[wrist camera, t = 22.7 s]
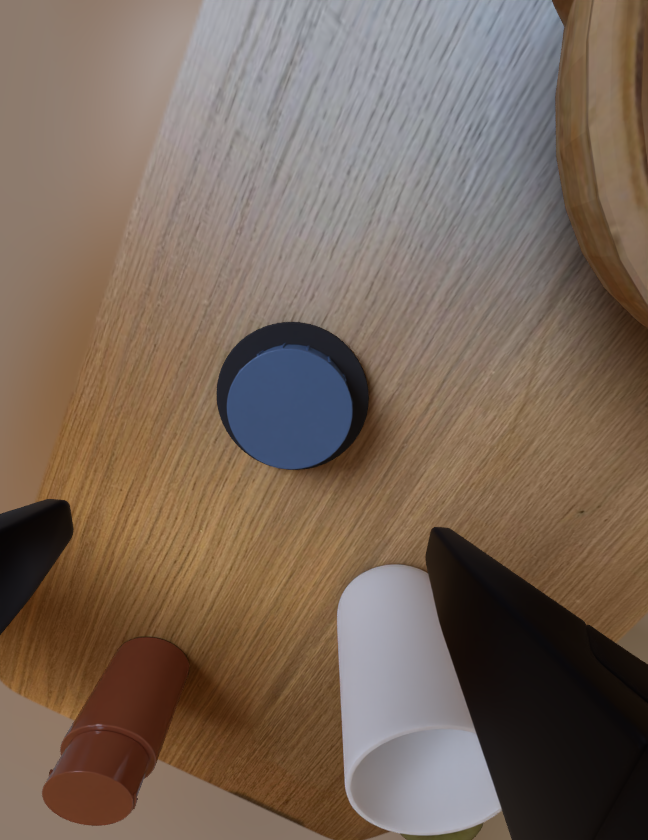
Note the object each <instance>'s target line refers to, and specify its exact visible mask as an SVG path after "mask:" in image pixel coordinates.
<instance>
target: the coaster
mask: <svg viewBox="0 0 648 840" xmlns="http://www.w3.org/2000/svg"><path fill="white" fill-rule="evenodd" d="M284 343H286V345H289V344H291V345H302V346H309V347H310V348H313V349H315V350H317V351H319V352H321V353H323V354H324V355H326V356H327V357H330V359H331V360H332V361H333V362H334V363H335V364H336V365H337V367H338V368H339V369H340V371H341V372H342V374H344V375H345V378H346V380H347V381H346V383H347V386H348V389H349V392H350V395H351V398H352V401H353V404H352V409H353V411H352V421H351V426H350V429H349V432H348V434H347V436H346V438H345V440H344V441H343V443H342V444H341V446H340V447H339V448H338V449H337V450H336V452H334V453H333V454H332V455H331V456H330V457H328V458H327V459H325V460H324V461H322V462H320V463H318V464H316V465H313V466H310V467H306V468H302V469H308V468H313V467H317V466H320V465H322V464H325V463H327V462H329V461H331V460H333V459H335V458H336V457H338V456H339V455H340V454H342V453H343V452H344V451H345V450H346V449H347V448H348V447H349V446H350V445H351V444H352V443H353V442H354V440H355V439H356V437H357V436H358V434H359V433H360V431H361V429H362V427H363V424H364V422H365V419H366V415H367V410H368V401H369V395H368V386H367V381H366V377H365V374H364V371H363V369H362V367H361V365H360V363H359V361H358V359H357V358H356V356H355V355H354V353H353V352H352V351H351V350H350V348H349V347H348V346H347V345H346V344H345V343H344V342H343V341H341V340H340V339H339V338H338V337H337V336H335V335H333V334H332V333H330V332H329V331H327V330H324V329H322V328H320V327H317V326H314V325H311V324H306V323H300V322H283V323H276V324H272V325H268V326H265V327H263V328H261V329H258V330H256V331H254V332H253V333H251V334H249V335H248V336H246V337H245V338H244V339H242V340H241V341H240V342H239V343H238V344H237V345H236V346H235V347H234V348H233V349H232V351H231V352H230V354H229V355H228V356H227V358H226V360H225V362H224V364H223V366H222V369H221V371H220V374H219V378H218V383H217V405H218V410H219V414H220V417H221V420H222V423H223V425H224V427H225V428H226V430H227V432H228V434H229V435H230V437H231V438H232V439H233V441H234V442H235V443H236V444H237V445H238V446H239V447H240V448H241V449H242V450H243V451H244V452H245V453H247V454H248V455H250V454H249V453H248V452H247V451H245V450H244V448H243V447H242V446H241V445H240V444H239V442H238V441H237V439H236V438H235V436H234V434H233V432H232V430H231V427H230V424H229V421H228V416H227V399H228V394H229V390H230V387H231V385H232V383H233V381H234V379H235V377H236V375H237V374H238V373H239V372H238V371H239V370H240V369H241V368H243V367H244V366H245V365H246V364H247V363H248V362H250V361H251V360H252V359H254V358H255V357H256V356H257V354H258V353H260V352H261V351H266V350H268V349H271V348H273V347H277V346H281V345H283V344H284ZM250 456H251V455H250ZM251 457H252V458H254V457H253V456H251ZM254 459H255V458H254ZM256 460H257V459H256ZM258 461H259V460H258ZM260 462H261V461H260ZM264 464H265V463H264ZM269 466H270V465H269ZM276 468H277V467H276ZM281 469H282V468H281ZM288 470H300V469H288Z"/></svg>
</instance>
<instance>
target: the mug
mask: <svg viewBox="0 0 648 840" xmlns="http://www.w3.org/2000/svg"><path fill="white" fill-rule="evenodd" d="M337 632H338V652H339V673H340V693H341V714H342V734H343V755H344V775H345V789H346V794H347V796H348V799H349V802H350V803H351V805H352V807H353V808H354V809H355V810H356V812H357V813H358V814H359V815H360V816H362V817H363V818H364V819H365V820H367V821H369V822H370V823H372V824H374V825H376V826H378V827H380V828H383V829H386V830H389V831H393V832H397V833H402V834H408V835H441V834H447V833H453V832H457V831H462V830H465V829H468V828H471V827H474V826H476V825H479V824H481V823H483V822H485V821H487V820H489V819H491V818H492V817H494V816H495V815H497V814H498V813H499V812H501V811H502V809H501V806H500V803H499V800H498V797H497V794H496V791H495V788H494V785H493V782H492V779H491V776H490V773H489V770H488V767H487V764H486V761H485V758H484V755H483V752H482V749H481V746H480V743H479V740H478V737H477V734H476V731H475V728H474V725H473V722H472V719H471V716H470V713H469V710H468V707H467V705H466V702H465V699H464V696H463V693H462V690H461V687H460V684H459V681H458V678H457V675H456V672H455V669H454V666H453V663H452V660H451V657H450V654H449V651H448V648H447V645H446V642H445V639H444V636H443V633H442V630H441V627H440V623H439V619H438V615H437V611H436V607H435V602H434V598H433V593H432V589H431V584H430V580H429V575H428V573H426V572H425V571H423V570H421V569H418V568H415V567H412V566H408V565H400V564H391V565H383V566H379V567H375V568H372V569H370V570H368V571H366V572H364V573H362V574H360V575H359V576H357V577H356V578H355V579H354V580H353V581H352V582H351V583H350V584H349V585H348V586H347V587H346V589H345V590H344V592H343V594H342V596H341V598H340V601H339V605H338V612H337Z"/></svg>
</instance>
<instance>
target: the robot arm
mask: <svg viewBox="0 0 648 840" xmlns="http://www.w3.org/2000/svg"><path fill="white" fill-rule="evenodd" d="M72 535H73V522H72V516H71V510H70V505H69V503H68V502H67V501H65V500H56V499H47V500H43V501H40V502H37V503H34V504H30V505H28V506H24V507H21V508H18V509H15V510H11V511H8V512H5V513H2V514H0V635H1V633H2V632H3V631H4V630H5V629H6V627H7V626H8V625H9V624H10V623H11V621H12V620H13V619H14V618H15V616H16V615H17V614H18V613H19V612H20V610H21V609H22V608H23V607H24V605H25V604H26V603H27V602H28V600H29V599H30V598H31V596H32V595H33V594H34V592H35V591H36V589H37V588H38V587H39V585H40V584H41V582H42V581H43V579H44V578H45V576H46V575H47V573H48V572H49V571H50V569H51V568H52V566H53V565H54V563H55V562H56V560H57V559H58V557H59V556H60V554H61V553H62V552H63V550H64V549H65V547H66V546H67V544H68V543H69V541H70V540H71V538H72ZM426 566H427V571H428V575H429V580H430V584H431V589H432V593H433V598H434V602H435V607H436V611H437V615H438V619H439V623H440V627H441V630H442V633H443V636H444V639H445V642H446V645H447V648H448V651H449V654H450V657H451V660H452V663H453V666H454V669H455V672H456V675H457V678H458V681H459V684H460V687H461V690H462V693H463V696H464V699H465V702H466V705H467V707H468V710H469V713H470V716H471V719H472V722H473V725H474V728H475V731H476V734H477V737H478V740H479V743H480V746H481V749H482V752H483V755H484V758H485V761H486V764H487V767H488V770H489V773H490V776H491V779H492V782H493V785H494V788H495V791H496V794H497V797H498V800H499V803H500V806H501V809H502V811H503V815H504V817H505V820H506V823H507V826H508V829H509V832H510V835H511V838H512V840H648V664H646V663H645V662H643V661H641V660H640V659H639V658H637V657H635V656H634V655H632V654H631V653H629V652H628V651H626V650H625V649H624V648H622V647H621V646H619V645H618V644H616V643H615V642H613V641H612V640H610V639H609V638H607V637H606V636H605V635H603V634H602V633H600V632H599V631H597V630H596V629H595V628H593V627H592V626H590V625H586V623H585V622H584V621H583V620H581V619H580V618H579V617H577V616H576V615H574V614H573V613H571V612H570V611H568V610H567V609H566V608H564V607H563V606H561V605H560V604H558V603H557V602H555V601H554V600H552V599H551V598H550V597H548V596H547V595H545V594H544V593H542V592H541V591H539V590H538V589H537V588H535V587H534V586H532V585H531V584H529V583H528V582H526V581H525V580H524V579H522V578H521V577H519V576H518V575H516V574H515V573H513V572H512V571H511V570H509V569H508V568H506V567H505V566H503V565H502V564H500V563H499V562H498V561H496V560H495V559H493V558H492V557H490V556H489V555H487V554H486V553H485V552H483V551H482V550H480V549H479V548H477V547H476V546H474V545H473V544H472V543H470V542H469V541H467V540H466V539H464V538H463V537H461V536H460V535H459V534H457V533H456V532H454V531H453V530H451V529H450V528H443V527H434V528H432V530H431V533H430V537H429V542H428V546H427V551H426Z"/></svg>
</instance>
